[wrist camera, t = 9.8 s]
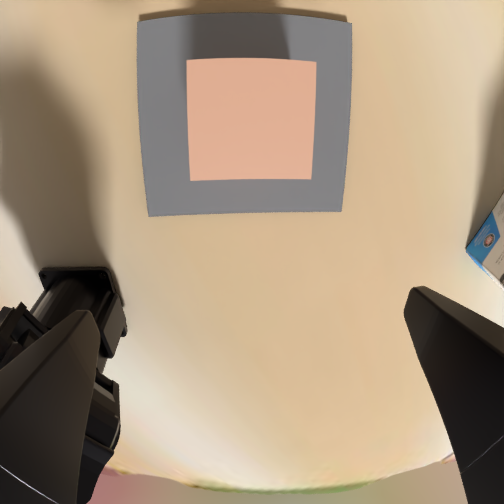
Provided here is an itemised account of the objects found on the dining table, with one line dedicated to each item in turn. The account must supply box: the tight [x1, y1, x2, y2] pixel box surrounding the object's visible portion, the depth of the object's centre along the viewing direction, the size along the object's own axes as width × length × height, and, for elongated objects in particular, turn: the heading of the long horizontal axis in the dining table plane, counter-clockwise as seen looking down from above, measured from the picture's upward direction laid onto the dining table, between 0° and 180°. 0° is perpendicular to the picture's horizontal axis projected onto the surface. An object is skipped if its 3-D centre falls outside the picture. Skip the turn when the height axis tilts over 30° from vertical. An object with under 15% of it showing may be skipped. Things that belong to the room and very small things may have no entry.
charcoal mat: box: [137, 13, 352, 217], centre depth 16 cm, size 12×12×1 cm
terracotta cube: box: [187, 58, 316, 181], centre depth 13 cm, size 5×5×5 cm
